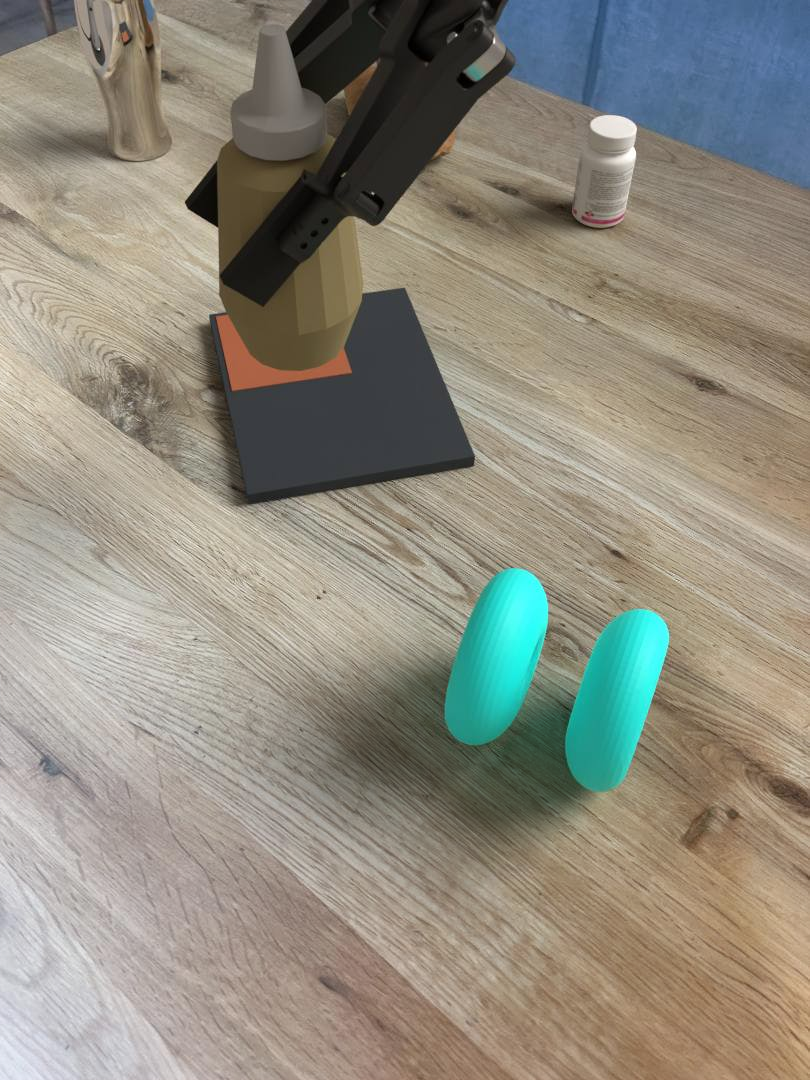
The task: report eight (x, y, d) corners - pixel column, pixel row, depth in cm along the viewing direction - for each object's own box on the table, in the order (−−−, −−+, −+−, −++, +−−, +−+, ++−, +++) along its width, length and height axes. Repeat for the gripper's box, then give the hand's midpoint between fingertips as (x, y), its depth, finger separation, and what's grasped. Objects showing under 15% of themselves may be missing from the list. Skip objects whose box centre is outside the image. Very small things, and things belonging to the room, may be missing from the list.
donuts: (492, 632, 65) (507, 524, 57) (651, 686, 62) (689, 582, 55) (432, 766, 59) (440, 666, 51) (606, 832, 56) (641, 738, 49)
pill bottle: (635, 218, 95) (653, 129, 88) (597, 235, 93) (612, 146, 86) (598, 194, 97) (613, 106, 91) (560, 211, 95) (573, 122, 89)
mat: (210, 324, 84) (208, 313, 83) (404, 297, 87) (405, 286, 86) (248, 504, 71) (246, 493, 70) (474, 466, 74) (475, 455, 73)
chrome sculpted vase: (170, 122, 104) (144, -39, 93) (183, 157, 100) (157, -7, 89) (99, 133, 103) (63, -30, 92) (109, 169, 99) (73, 3, 87)
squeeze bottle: (287, 283, 66) (263, -22, 52) (391, 333, 63) (395, 23, 49) (197, 350, 61) (145, 36, 48) (305, 406, 58) (283, 89, 45)
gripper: (685, 11, 44) (332, 394, 53) (492, -139, 56) (227, 194, 64) (593, -116, 39) (216, 332, 47) (401, -253, 51) (125, 127, 59)
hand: (223, 252), depth 56 cm, fingers closed on squeeze bottle, 6 cm apart
